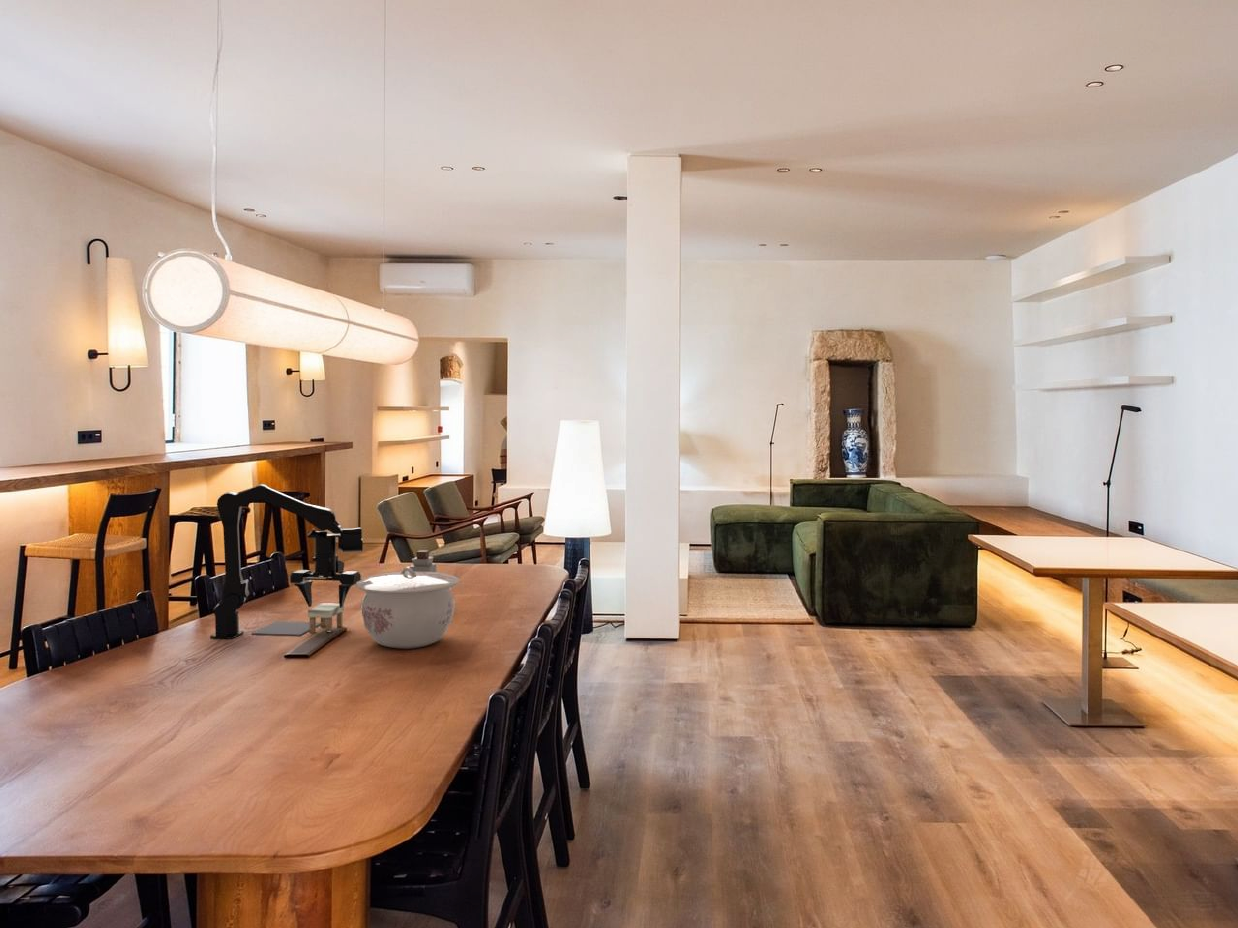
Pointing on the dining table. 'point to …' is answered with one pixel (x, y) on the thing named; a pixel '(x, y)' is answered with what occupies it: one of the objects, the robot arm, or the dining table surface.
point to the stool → (325, 615)
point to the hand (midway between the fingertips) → (325, 607)
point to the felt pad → (285, 628)
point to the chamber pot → (407, 607)
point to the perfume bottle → (423, 562)
